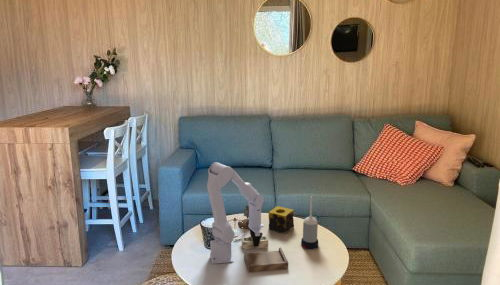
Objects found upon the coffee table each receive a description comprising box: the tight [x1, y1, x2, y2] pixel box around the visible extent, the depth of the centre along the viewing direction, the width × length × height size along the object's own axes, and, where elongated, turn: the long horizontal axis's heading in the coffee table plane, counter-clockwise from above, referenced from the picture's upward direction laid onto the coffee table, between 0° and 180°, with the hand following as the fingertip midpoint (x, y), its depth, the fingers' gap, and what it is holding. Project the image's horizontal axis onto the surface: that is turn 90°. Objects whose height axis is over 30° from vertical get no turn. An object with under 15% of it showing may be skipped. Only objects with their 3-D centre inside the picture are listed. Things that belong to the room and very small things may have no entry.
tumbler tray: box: [241, 235, 269, 250], centre depth 180 cm, size 12×5×4 cm, turn 98°
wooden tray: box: [243, 247, 289, 274], centre depth 166 cm, size 17×13×3 cm
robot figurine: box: [237, 202, 249, 230], centre depth 201 cm, size 11×9×12 cm
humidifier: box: [300, 195, 319, 250], centre depth 178 cm, size 8×8×25 cm
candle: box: [268, 205, 295, 235], centre depth 198 cm, size 10×10×10 cm
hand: (254, 243), depth 180 cm, fingers open, 6 cm apart
